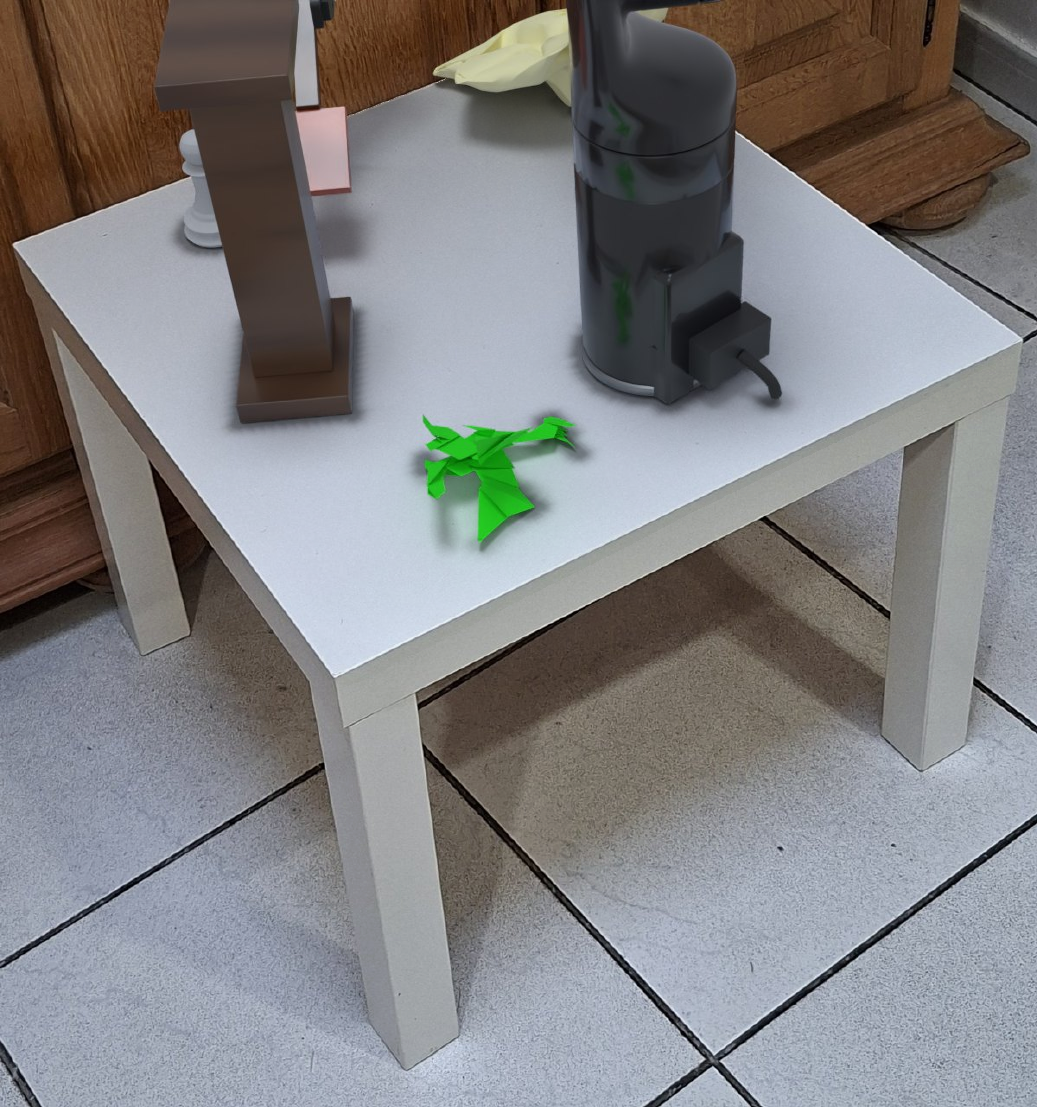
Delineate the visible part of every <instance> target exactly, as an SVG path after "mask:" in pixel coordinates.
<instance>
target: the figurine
mask: <svg viewBox="0 0 1037 1107" xmlns="http://www.w3.org/2000/svg"><path fill="white" fill-rule="evenodd" d="M542 420H543V423H542V424H540V425H538V426H537V427H535V428H534V426H531V427H529V428H525V429H521V430H517V431H508V430H496V429H495V428H488V427H482V426H477V425H476V426H475V425H465V424H462V426H463V427H465V428H468V429H471V430H474V431H473V433H471V434H470V435H468V436H466V437H464V436H462V435H461V434H460V433H459V432H457V431H456V430H454V429H452V428H451V427H449V426H441V425H433V423H431V422H430V421H429V420H428V418H427V417H426V416H425V415H424V414H422V424H424V426H425V427H426V428H427V431H428V432H430V434H431V435H432V436H433V437H434V439H433V440H431V441H429V442H427V443H425V446H426V448H427V449H428V451H429V452H433V451H435V450H437V451H439V452H442V453H444V454H446V455H448V456H447V457H444V458H442V459H440V460H437V461H434V462H433V461H431V460H430V459H426V458H424V468H425V469H426V471H427V473H426V476H427V477H426V488H427V489H426V495H427V496H429V497H431V498H433V499H435V500H438V499H439V498H440V497H441V496H442V495H443V494H445V493H446V487H445V481H444V480H445V479H444V478H445V477H446V476H448V477H463V476H466V475H467V474H470V473H472V472H475V474H476V475H477V477H478V478H479V480H480V482H481V484H480V486H478V509H477V511H478V512H477V542H479V543H482V541H483V540H484V539H485V538H486V537H487V536H489V535H490V534H491V533H492V532H494V530H496V529H497V528H498V527H499V526H500V525H501V524H502V523H504V522H505V521H506V520H507V519H508V518H509V517H511V516H514V515H516V514H519V513H522V512H525V511H527V510H531V509H533V508H535V505H534V504H533V503H532V502H531V501H530V500H529V499H528V498H527V496H526V495H524V493H523V492H522V491H521V490H520V484H519V481H518V479H517V477H516V474H515V471H514V469H515V468H516V467H515V466H514V464H513V463H512V461H511V459H510V458H509V456H508V455H507V453H506V452H505V450H504V449H507V448H509V447H513V446H515V444H517V443H526V442H533V441H542V440H548V439H556V440H560V441H562V442H565V443H568V444H569V445H570V446H572V447H573V448H575V445H573V444H572V443H571V442H570V441H569V440H568V439H567V438H566V437H568V434H567V433H566V432H568V430H567V429H566V428H571V427H577V426H578V424H575V423H571V422H568V420H566V419H562V418H559V417H555V416H547V417H545V418H543V419H542ZM564 427H566V428H564ZM533 428H534V429H533ZM530 430H531V431H530Z"/></svg>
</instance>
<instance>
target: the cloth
mask: <svg viewBox="0 0 1037 1107" xmlns="http://www.w3.org/2000/svg"><path fill="white" fill-rule="evenodd" d="M668 11H669V8H662V9H653V10H644V11H641V10H640V11H635V12H637V13H639V14H641V15H643V16H645V17H648V18H650V19H653V20H656V21H659V22H664V20H665V19H666V17H667V14H668ZM432 75H433V76H435V77H441V78H446V79H452V80H454V83H455V84H456V85H466V86H469V87H472V88H474V89H477V90H480V91H482V92H490V93H501V92H506V91H511V90H515V89H522V88H527V87H532V86H538V85H541V84H543V83H544V82H545V83H546V84H547V85H548V86H549V87H550V88H551V89H552V90H553V92H554V93H555V94H556V95H557V97H558V98H559V99H560V100H561V102H563V103H564V104H565V105H566V106H567V107H568V108H569V107H570V108H571V79H570V56H569V37H568V19H567V9H566V8H562V9H555V10H547V11H544V12H541V13H537V14H535V15H532V16H530V17H527V18H524V19H522V20H520V21H517V22H515V23H513V24H511V25H509V26H508V27H506V28H504V29H501V30H500V31H499V32H498V33H496V34H495V35H493V36H492V37H490V38H489V39H487V40H486V41H484V42H483V43H481V44H479V45H477V46H475V47H473V48H471V49H469V50H467V51H465V52H464V53H462V54H460V55H458V56H456V57H454V58H451V59H450V60H448V61H446V62H444V63H442V64H440V65H438V66H437V67H435V68H434V70H433V72H432Z"/></svg>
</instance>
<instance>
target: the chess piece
mask: <svg viewBox="0 0 1037 1107" xmlns="http://www.w3.org/2000/svg"><path fill="white" fill-rule="evenodd" d="M178 144H179V146H178V148H179V151H180V154H181V156H182V157H183V159H184V160H185V161H184V162H183V163H182V166H181V168H182V171H183V173H185V175H188V176H190V177H191V180H192V183H193V187H194V190H195V197H194V202H193V203H192V205H191V206H190V207H189V208H188V209H187V210H186V211H185V213H184V215H183V222H184V230H183V232H184V235H185V237H186V238H187V239H188V240H189V241H190V242H192V243H193V244H195V245H197V246H199V247H202V248H210V249H211V248H221V247H222V243H221V239H220V235H219V231H218V226H217V222H216V218H215V214H214V210H213V206H212V202H211V198H210V194H209V189H208V185H207V181H206V177H205V173H204V169H203V165H202V161H201V156H200V152H199V148H198V144H197V140H196V136H195V132H194V128H192V129H189V130H188V131H186V132H184V133H183V134H182V135H181V137H180V140H179V143H178ZM222 248H223V247H222Z"/></svg>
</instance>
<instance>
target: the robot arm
mask: <svg viewBox="0 0 1037 1107" xmlns="http://www.w3.org/2000/svg"><path fill="white" fill-rule="evenodd" d="M337 1H338V0H309V2H310V10H311V15H312V21H313V27H314V29H317V30H320V29H325V27H326V22H328V21H329V22H330V21H332V20H333V19H334V17H335V7H336V6H335V5H336V4H335V3H337ZM723 1H724V2H725V0H565V7H566V8H565V9H567V19H568V37H569V56H570V79H571V107H570V109H571V110H570V112H571V131H572V132H571V134H572V135H571V136H572V152H573V153H572V154H573V155H572V156H573V176H574V177H573V180H574V197H575V198H574V199H575V216H576V218H575V220H576V235H577V236H576V241H577V242H576V243H577V257H578V258H577V259H578V261H577V262H578V279H579V280H578V281H579V283H578V284H579V299H580V301H579V302H580V313H581V314H580V315H581V331H582V332H581V336H580V350H581V356H582V360H583V362H584V365H585V367H586V368H587V369H588V371H589V372H590V373H591V374H592V375H593V376H594V377H595V378H596V379H597V380H598V381H600V382H601V383H603V384H605V385H607V386H608V387H610V388H613V389H615V390H617V391H620V392H623V393H628V394H632V395H638V396H647V397H649V396H651V397H654V398H656V399H658V400H659V401H661V402H663V403H664V404H672V403H673V402H674V401H675V402H676V401H677V400H678V399H680V398H681V397H683V396H685V395H687V394H689V393H690V392H692V391H693V390H695V389H696V388H699V387H700V386H704V387H706V388H707V389H708V390H711V391H712V390H713V389H715V388H716V387H718V386H719V385H721V384H722V383H725V382H726V381H727V380H729V379H731V378H732V377H734V376H736V375H738V374H739V373H741V372H742V371H744V370H746V369H748V370H749V371H751V373H753V374H755V375H756V376H757V377H758V378H759V379H760V380H761V381H762V382H763V383H764V384H765V386H766V387H767V389H768V394H769V397H770V398H771V399H772V400H777V399H778V400H779V398H781V397H782V394H783V392H782V386H781V384H780V382H779V380H778V379H777V377H776V376H775V374H774V373H773V372H772V371H771V370H770V369H769V368H768V367H767V366H765V365H764V364H763V363H762V362H761V361H760V360H762V359H764V358H766V357H767V356H769V355H770V349H771V346H770V345H771V333H772V332H771V331H772V330H771V329H772V317H770V316H769V315H767V313H765V312H763V311H761V310H760V309H758V308H757V307H755V306H753V305H752V304H751V303H749V302H747V301H746V300H745V301H743V302H742V300H743V298H742V297H743V296H742V295H743V274H744V273H743V272H744V248H745V242H744V238H742V236H740V234H737V233H736V232H734V231H733V210H734V184H735V183H734V182H735V180H734V177H735V156H736V155H735V154H736V126H737V106H738V105H737V104H738V77H737V76H738V75H737V72H736V67H735V64H734V62H733V60H732V58H731V57H730V55H729V54H728V52H727V51H726V50H725V49H724V48H723V47H722V46H720V45H719V44H718V43H717V42H716V41H714V40H713V39H711V38H709V37H708V36H705V35H703V34H701V33H699V32H697V31H694V30H691V29H688V28H685V27H681V26H678V25H674V24H670V23H666V22H664V21H662V22H659V21H656V20H653V19H650V18H648V17H645V16H643V15H641V14H639V13H637V12H635V11H640V10H641V11H644V10H653V9H662V8H668V9H670V8H671V9H672V8H680V7H688V6H689V7H690V6H697V5H706V4H714V3H720V2H723Z"/></svg>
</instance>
